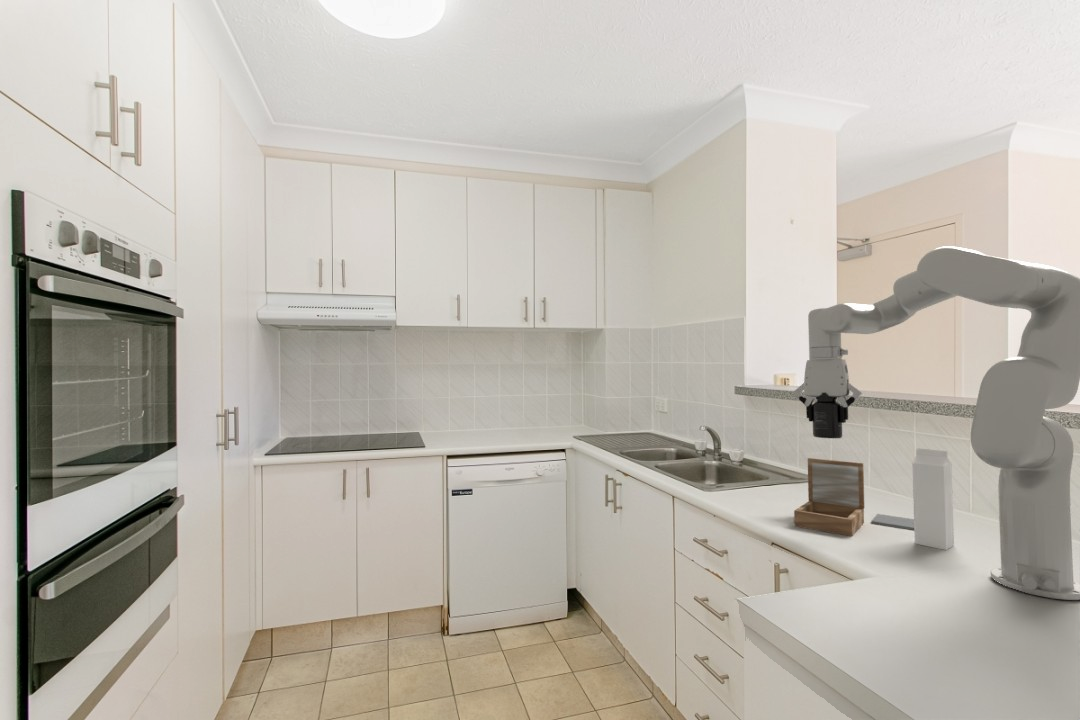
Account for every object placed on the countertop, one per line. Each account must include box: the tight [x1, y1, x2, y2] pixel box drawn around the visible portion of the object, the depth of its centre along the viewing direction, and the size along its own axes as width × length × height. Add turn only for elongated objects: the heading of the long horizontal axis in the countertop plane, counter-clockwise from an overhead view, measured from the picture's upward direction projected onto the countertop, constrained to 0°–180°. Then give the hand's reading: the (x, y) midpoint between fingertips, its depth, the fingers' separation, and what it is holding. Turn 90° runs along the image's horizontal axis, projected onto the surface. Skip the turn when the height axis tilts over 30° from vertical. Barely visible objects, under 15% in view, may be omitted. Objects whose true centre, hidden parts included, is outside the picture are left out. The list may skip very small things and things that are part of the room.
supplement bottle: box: [812, 392, 843, 439], centre depth 132 cm, size 7×7×12 cm
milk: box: [911, 448, 955, 551], centre depth 117 cm, size 6×6×22 cm
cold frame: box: [793, 457, 865, 537], centre depth 133 cm, size 16×13×16 cm
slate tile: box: [870, 513, 914, 531], centre depth 134 cm, size 10×10×1 cm
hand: (827, 421), depth 132 cm, fingers closed on supplement bottle, 6 cm apart
